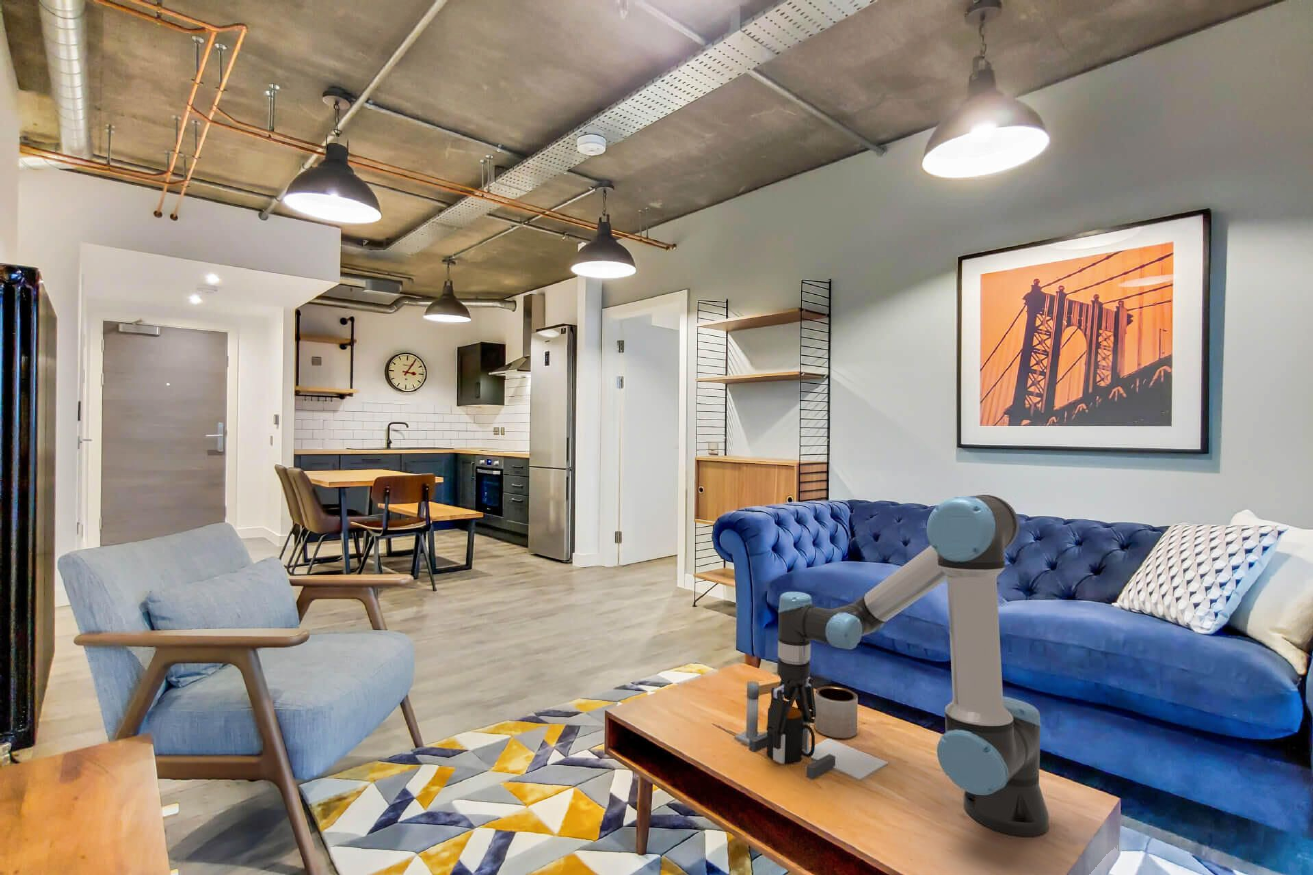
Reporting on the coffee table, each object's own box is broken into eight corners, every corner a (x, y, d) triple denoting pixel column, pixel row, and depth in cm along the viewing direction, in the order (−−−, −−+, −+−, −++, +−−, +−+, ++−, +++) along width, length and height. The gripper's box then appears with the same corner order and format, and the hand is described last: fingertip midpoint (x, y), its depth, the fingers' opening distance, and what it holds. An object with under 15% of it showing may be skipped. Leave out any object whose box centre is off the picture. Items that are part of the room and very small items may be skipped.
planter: (866, 736, 167) (867, 698, 167) (830, 742, 163) (831, 703, 163) (839, 719, 177) (840, 684, 177) (805, 724, 173) (806, 688, 173)
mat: (887, 764, 152) (887, 762, 152) (860, 780, 144) (860, 778, 144) (828, 739, 164) (828, 738, 164) (800, 753, 156) (800, 751, 156)
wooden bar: (791, 684, 171) (791, 673, 171) (799, 688, 169) (799, 676, 169) (744, 694, 163) (744, 682, 163) (751, 698, 161) (752, 686, 161)
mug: (804, 773, 147) (806, 727, 147) (759, 754, 155) (761, 711, 155) (822, 760, 153) (824, 716, 153) (778, 743, 161) (779, 701, 161)
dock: (835, 766, 150) (836, 720, 150) (812, 779, 144) (813, 731, 144) (754, 730, 168) (755, 689, 168) (730, 740, 162) (731, 697, 162)
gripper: (807, 646, 164) (805, 736, 164) (751, 664, 150) (749, 762, 150) (833, 654, 159) (831, 747, 158) (778, 673, 144) (775, 776, 144)
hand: (791, 754), depth 154 cm, fingers open, 9 cm apart
